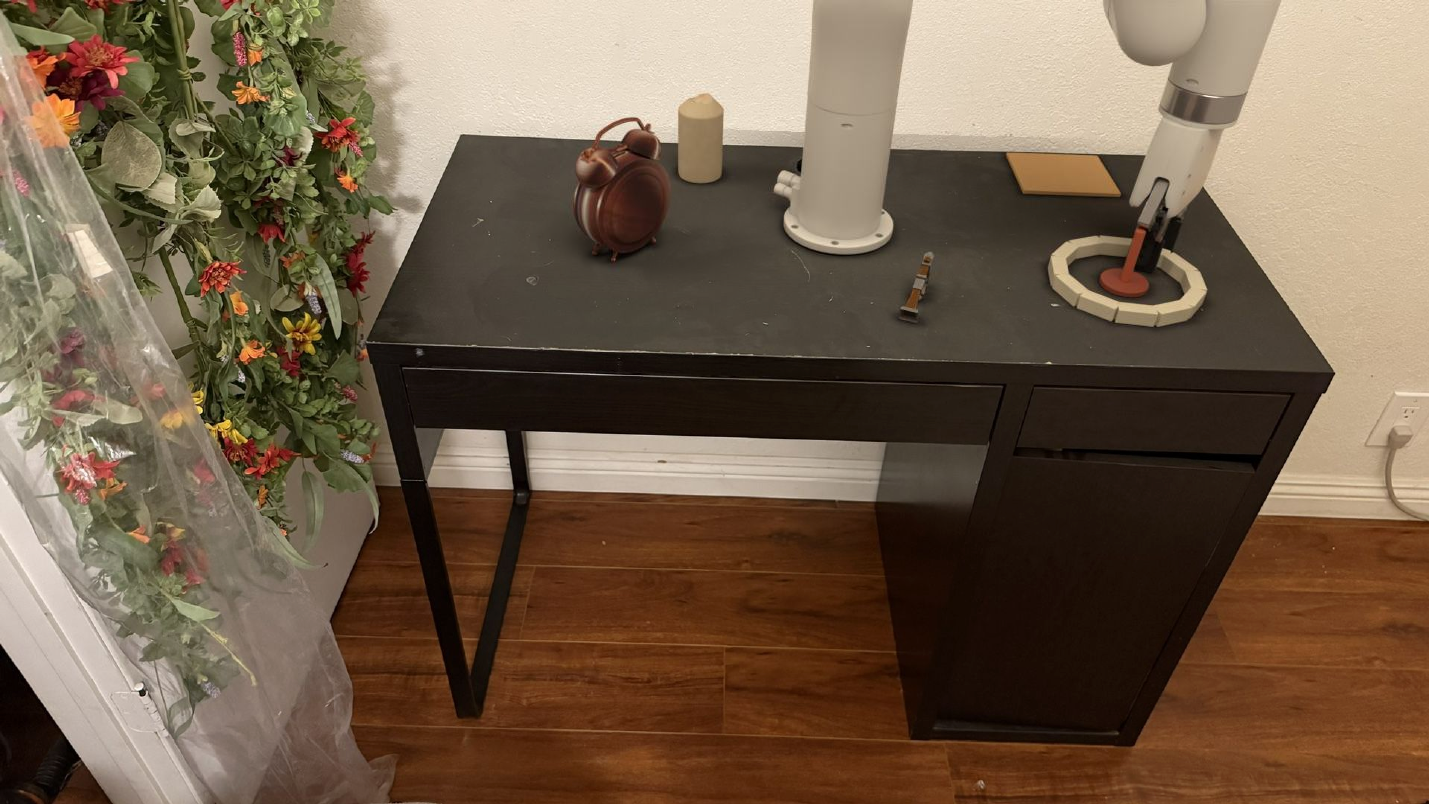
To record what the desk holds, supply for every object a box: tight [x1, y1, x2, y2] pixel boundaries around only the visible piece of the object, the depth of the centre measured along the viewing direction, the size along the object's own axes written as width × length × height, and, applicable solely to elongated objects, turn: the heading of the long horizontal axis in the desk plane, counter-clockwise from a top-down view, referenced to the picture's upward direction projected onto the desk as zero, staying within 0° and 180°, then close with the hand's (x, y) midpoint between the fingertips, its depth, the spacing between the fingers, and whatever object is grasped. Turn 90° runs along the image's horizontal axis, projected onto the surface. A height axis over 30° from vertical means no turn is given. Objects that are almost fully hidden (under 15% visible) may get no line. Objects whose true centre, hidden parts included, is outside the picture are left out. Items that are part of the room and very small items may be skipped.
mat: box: [1005, 151, 1122, 198], centre depth 127 cm, size 12×11×1 cm
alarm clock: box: [572, 116, 672, 262], centre depth 106 cm, size 11×5×15 cm, turn 136°
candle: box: [677, 92, 725, 184], centre depth 122 cm, size 6×6×10 cm
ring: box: [1047, 235, 1208, 328], centre depth 106 cm, size 16×16×2 cm
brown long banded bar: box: [899, 251, 935, 324], centre depth 102 cm, size 2×8×4 cm, turn 157°
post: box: [1098, 228, 1150, 298], centre depth 105 cm, size 5×5×7 cm
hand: (1148, 257), depth 111 cm, fingers open, 4 cm apart
